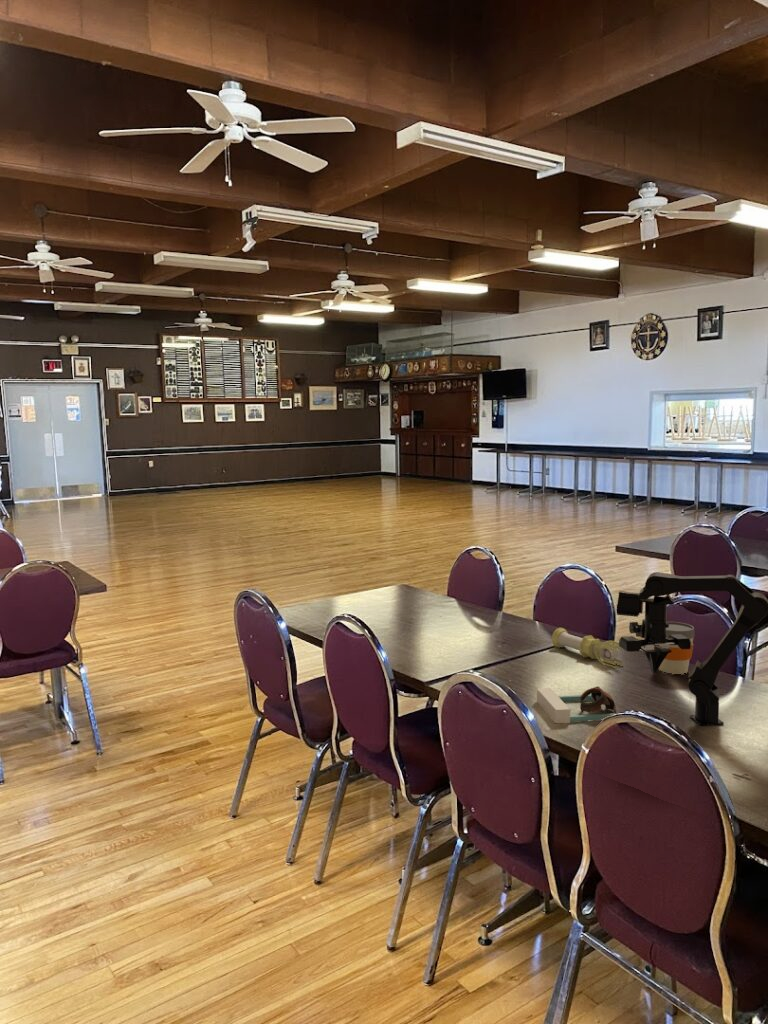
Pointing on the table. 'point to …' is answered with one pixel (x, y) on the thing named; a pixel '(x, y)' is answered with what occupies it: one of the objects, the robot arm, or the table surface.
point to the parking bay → (563, 706)
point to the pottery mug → (597, 700)
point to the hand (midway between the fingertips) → (654, 672)
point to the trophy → (588, 646)
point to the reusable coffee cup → (678, 649)
